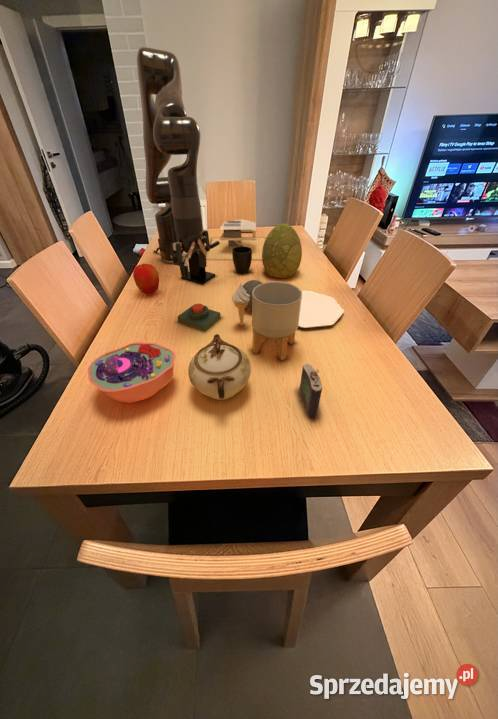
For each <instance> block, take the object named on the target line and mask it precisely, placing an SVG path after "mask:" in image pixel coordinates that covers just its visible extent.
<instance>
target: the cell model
mask: <svg viewBox="0 0 498 719" xmlns="http://www.w3.org/2000/svg"><path fill="white" fill-rule="evenodd" d="M175 360H176V352H174V350H172V349H170V348H167V347H166V346H164V345H160V344H158V343H155V342H144V341H143V342H141V341H140V342H139V341H137V342H131V343H127V344H126V345H124V346H123V345H122V346H121V347H119V348H116V349H113V350H110V351H107V352H105V353H103V354H101V355H100V356H98V357H96V358H95V359H94V360H93V361H92V362H91V363H90V365H89V366H88V368H87V378H88V381H89V383H90V384H92V385H94V386H95V387H96V388H97V389H98V390H100V391H101V392H102V393H103V394H104V395H106V396H108V397H110V398H111V399H112V400H114V401H117V402H123V403H128V404H129V403H130V404H131V403H136V402H140V401H143V400H146V399H147V400H148V399H149V398H151V397H153V396H154V395H155V394H156V393H158V392H160V391H161V390H162V389H163V388H164V387H166V386H167V385H168V384H169V383H170V382H171V381H172V380H173V377H174V369H175Z"/></svg>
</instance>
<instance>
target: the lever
mask: <svg viewBox="0 0 498 719" xmlns="http://www.w3.org/2000/svg"><path fill="white" fill-rule="evenodd" d="M219 244H220V243H219V241H217V242H215V243H213V244H211V243H210V249H212V248H214V247H216V246H218V245H219ZM205 246H206V244H205Z"/></svg>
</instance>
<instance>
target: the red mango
mask: <svg viewBox="0 0 498 719" xmlns="http://www.w3.org/2000/svg"><path fill="white" fill-rule="evenodd" d="M132 277H133V280H134V283H135V285H136V287H137V288H138V290H139V292H140V293H142V294H144V295H146V296H152V295H153V294H155V293H156V292H157V291H158V290H159V288H160V274H159V272H158V270H157V268H156V267H155V266H154V265H153V264H150V263H144V262H142V263H141V264H138V265H135V267H134V269H133V271H132Z"/></svg>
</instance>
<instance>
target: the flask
mask: <svg viewBox="0 0 498 719" xmlns="http://www.w3.org/2000/svg"><path fill="white" fill-rule="evenodd" d="M318 373H320V370H319V369H318V368H317V369H315V368H314V367H313V365H311V364H309V363H305V364H303V365H302V370H301V377H300V383H299V389H298V394H299V397H300V398H301V403H302V405H304V407H303V408H304V409H305V413H306V416H307V417H309V418H310V419H315V418H317V417H318V411H319V406H320V401H321V397H322V396H321V395H322V393H323V392H322V391H323V385H322V381H321V378H320V375H319V374H318Z"/></svg>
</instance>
